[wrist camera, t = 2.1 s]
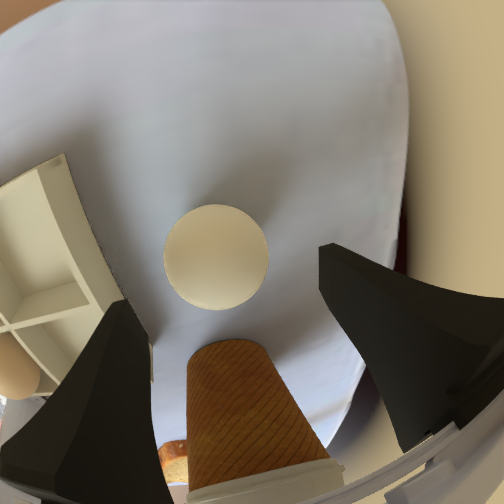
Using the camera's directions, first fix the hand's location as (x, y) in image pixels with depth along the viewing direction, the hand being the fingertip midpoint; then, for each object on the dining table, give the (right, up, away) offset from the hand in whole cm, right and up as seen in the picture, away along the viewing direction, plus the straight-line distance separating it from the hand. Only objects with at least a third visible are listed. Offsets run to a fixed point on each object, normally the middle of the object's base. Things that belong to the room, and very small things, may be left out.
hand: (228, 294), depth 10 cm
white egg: (-1, +2, +4) cm, 5 cm away
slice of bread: (-10, -30, +22) cm, 38 cm away
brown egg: (-16, -5, +3) cm, 17 cm away
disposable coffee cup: (-1, -7, +10) cm, 12 cm away
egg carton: (-13, -1, +3) cm, 13 cm away
